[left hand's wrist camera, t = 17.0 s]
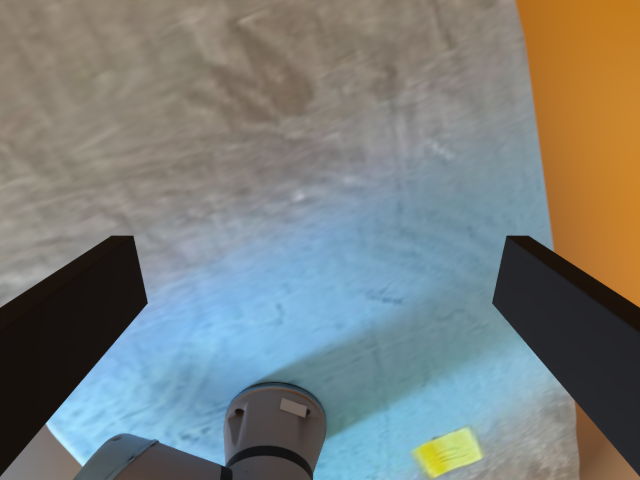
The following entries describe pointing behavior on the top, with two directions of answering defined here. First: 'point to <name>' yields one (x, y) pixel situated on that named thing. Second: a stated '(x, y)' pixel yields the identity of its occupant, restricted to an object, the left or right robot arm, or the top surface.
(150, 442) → the left robot arm
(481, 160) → the top surface
